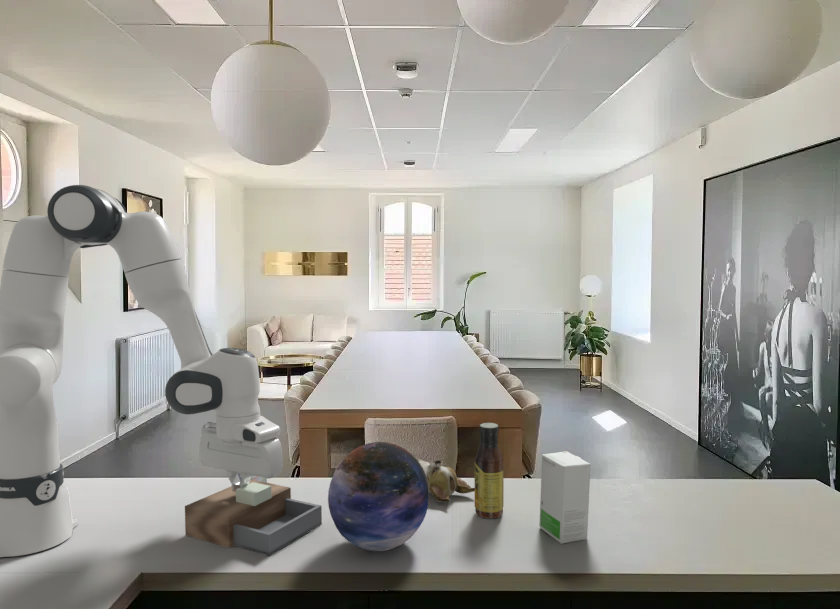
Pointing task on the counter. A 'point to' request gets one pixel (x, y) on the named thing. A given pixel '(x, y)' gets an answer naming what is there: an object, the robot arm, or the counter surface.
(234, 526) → the bin
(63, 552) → the counter surface
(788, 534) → the counter surface
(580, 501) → the skincare box
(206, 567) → the counter surface
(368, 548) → the decorative sphere
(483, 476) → the sauce bottle
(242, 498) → the tile
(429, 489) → the ceramic sculpture
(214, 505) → the wooden drawer casing
